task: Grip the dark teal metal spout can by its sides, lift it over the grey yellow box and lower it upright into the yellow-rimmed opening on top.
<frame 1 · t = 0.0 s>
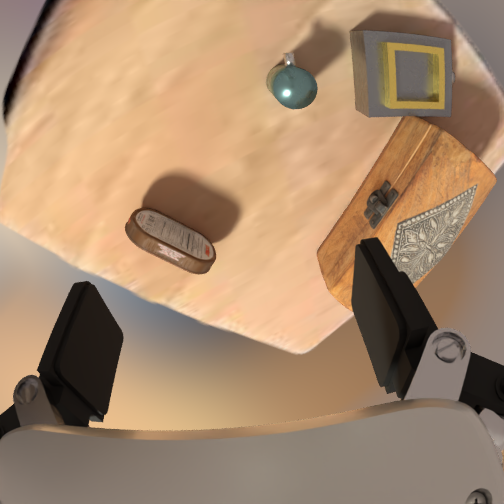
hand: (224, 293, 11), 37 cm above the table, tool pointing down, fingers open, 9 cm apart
wooden box: (388, 200, 52), on the table
spout can: (284, 81, 39), on the table
grey yellow box: (396, 70, 38), on the table
tin: (175, 225, 52), on the table
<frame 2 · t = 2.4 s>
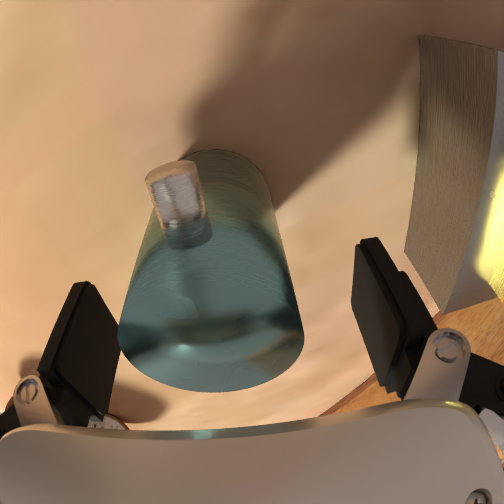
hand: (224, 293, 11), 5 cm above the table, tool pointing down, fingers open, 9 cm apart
wooden box: (430, 360, 27), on the table
spout can: (214, 200, 14), on the table
tin: (77, 402, 28), on the table
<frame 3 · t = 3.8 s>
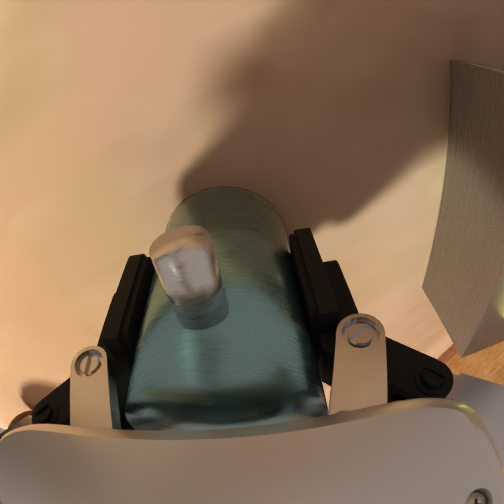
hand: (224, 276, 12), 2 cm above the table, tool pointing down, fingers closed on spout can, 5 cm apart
wooden box: (444, 385, 26), on the table
spout can: (225, 241, 13), on the table, touching gripper
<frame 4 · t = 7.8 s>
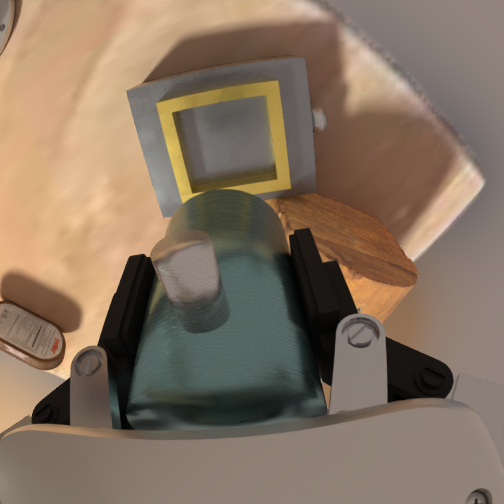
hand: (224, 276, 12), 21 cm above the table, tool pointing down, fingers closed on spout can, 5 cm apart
wooden box: (272, 290, 42), on the table
spout can: (225, 243, 13), point 19 cm above the table, touching gripper
grey yellow box: (227, 125, 29), on the table
tin: (33, 314, 43), on the table
when the fingers open (8 cm above the table, at t = 9.8 s): spout can stays where it is, resting on grey yellow box.
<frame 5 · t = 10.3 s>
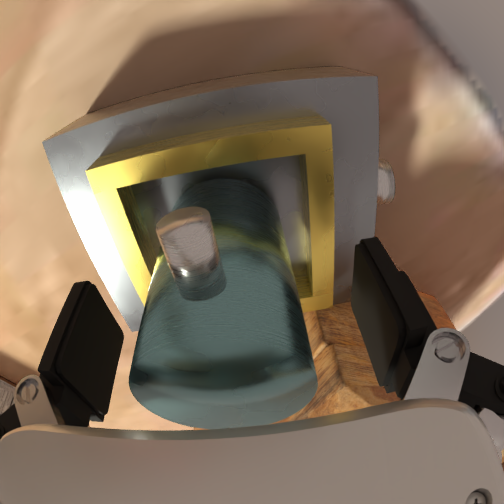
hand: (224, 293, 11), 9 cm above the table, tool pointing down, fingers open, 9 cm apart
wooden box: (291, 375, 32), on the table
spout can: (224, 230, 14), point 5 cm above the table, touching grey yellow box
grey yellow box: (226, 182, 18), on the table
tin: (5, 379, 32), on the table
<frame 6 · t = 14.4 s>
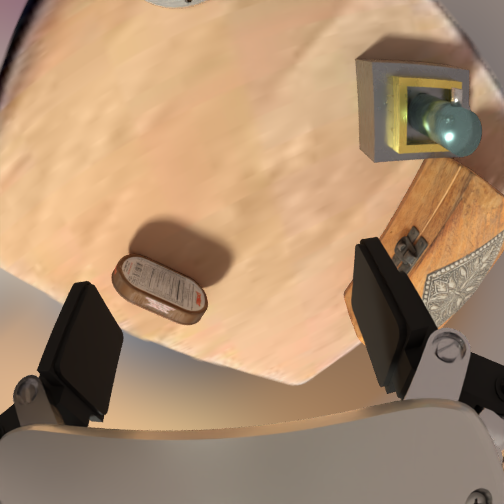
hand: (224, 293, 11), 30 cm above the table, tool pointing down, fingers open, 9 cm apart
wooden box: (414, 236, 48), on the table
spout can: (425, 113, 31), point 5 cm above the table, touching grey yellow box
grey yellow box: (406, 104, 35), on the table
tin: (165, 269, 49), on the table
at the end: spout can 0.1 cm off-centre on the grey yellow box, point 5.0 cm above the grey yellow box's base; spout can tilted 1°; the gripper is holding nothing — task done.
